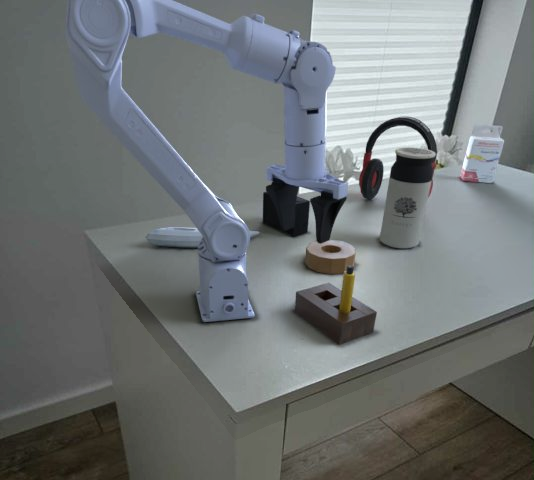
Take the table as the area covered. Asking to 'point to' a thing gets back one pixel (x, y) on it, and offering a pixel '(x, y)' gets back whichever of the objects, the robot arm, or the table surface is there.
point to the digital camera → (300, 215)
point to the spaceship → (178, 237)
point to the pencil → (347, 290)
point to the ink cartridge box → (482, 154)
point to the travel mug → (407, 197)
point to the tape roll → (330, 256)
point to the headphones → (374, 167)
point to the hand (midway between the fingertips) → (305, 234)
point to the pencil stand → (334, 313)
